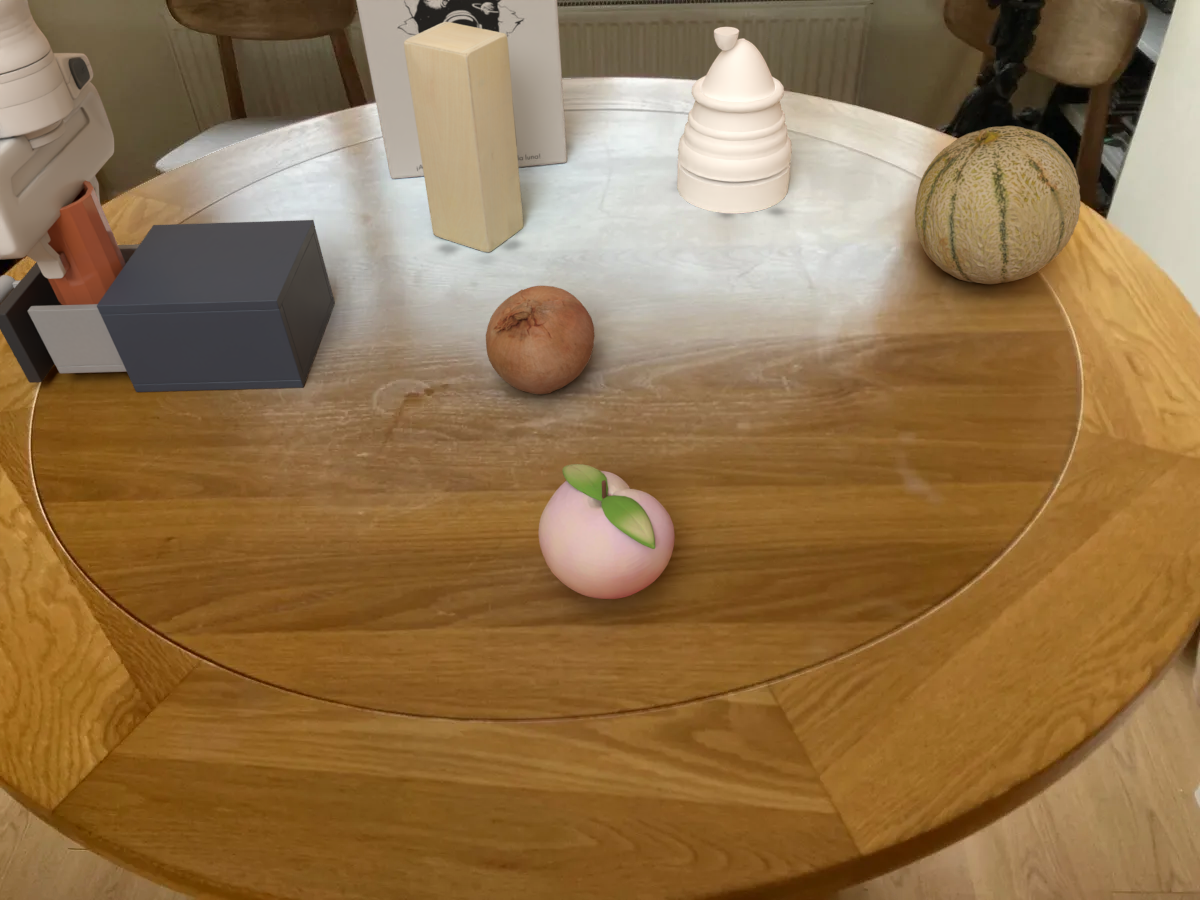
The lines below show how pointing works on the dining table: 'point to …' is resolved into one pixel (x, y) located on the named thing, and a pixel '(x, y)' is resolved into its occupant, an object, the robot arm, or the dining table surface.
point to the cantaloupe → (997, 205)
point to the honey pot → (735, 134)
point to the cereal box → (530, 20)
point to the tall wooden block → (466, 133)
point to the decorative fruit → (604, 534)
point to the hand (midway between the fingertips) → (77, 250)
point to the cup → (85, 250)
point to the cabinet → (220, 306)
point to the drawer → (55, 328)
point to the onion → (540, 339)
